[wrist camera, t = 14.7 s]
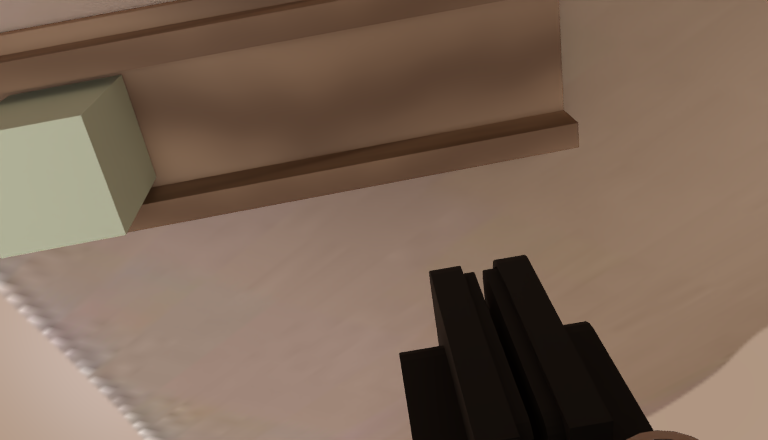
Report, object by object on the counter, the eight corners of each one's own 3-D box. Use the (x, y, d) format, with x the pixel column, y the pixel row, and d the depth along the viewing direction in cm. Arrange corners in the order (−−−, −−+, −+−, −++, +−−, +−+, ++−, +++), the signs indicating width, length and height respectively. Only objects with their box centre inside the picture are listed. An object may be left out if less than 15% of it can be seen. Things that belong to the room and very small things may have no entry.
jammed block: (9, 95, 30) (-56, 140, 25) (121, 74, 30) (80, 115, 25) (52, 196, 32) (1, 258, 27) (156, 177, 32) (125, 234, 27)
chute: (-77, 47, 30) (-153, 78, 25) (548, -68, 30) (595, -59, 25) (15, 244, 34) (-34, 303, 29) (558, 141, 35) (599, 183, 30)
